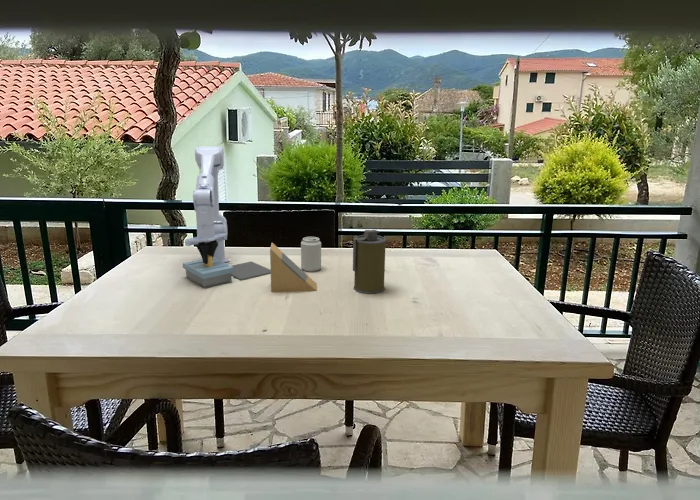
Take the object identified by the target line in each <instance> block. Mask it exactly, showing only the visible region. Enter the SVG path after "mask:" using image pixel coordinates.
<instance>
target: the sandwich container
mask: <svg viewBox="0 0 700 500" xmlns="http://www.w3.org/2000/svg"><path fill="white" fill-rule="evenodd" d="M269 255H270V256H269V257H270V258H269V259H270V261H269V262H270V270H271V274H270V292H271V293H293V292H294V293H295V292H296V293H297V292H298V293H299V292H300V293H301V292H317V291H318V284H317V282H316V281H315V280H313V278H311V277H310V276H309V275H308V274H307V273H306V271H304V270H303V269H302V268H301V267H300V266H298V265H297V264H296V263H295V262H294V261H293V260H292V259H291V258H289V257H288V256H287V255H286V254H285V253H284V252H283V251H282V250H281V249H280V248H279V247H278V246H277V245H276V244H275V243H273V242H271V245H270V249H269Z"/></svg>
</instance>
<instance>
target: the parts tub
mask: <svg viewBox="0 0 700 500" xmlns="http://www.w3.org/2000/svg"><path fill="white" fill-rule="evenodd" d="M185 273H186V274H185V276H186V279H189V280H190V281H192V282H194V283H195V284H197V285H199V286H201V287H203V288H205V289H206V288H210V287H215V286H219V285H223V284H228V283H231V282H232V281H233V280H232V276H231V273H229V274H224V275H220V276H215V277H211V278H206V279H202V278H200V277H199V276H197V275H195V274H193V273H191V272H189V271H188V270H186V269H185Z"/></svg>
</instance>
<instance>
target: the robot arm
mask: <svg viewBox="0 0 700 500" xmlns="http://www.w3.org/2000/svg"><path fill="white" fill-rule="evenodd" d="M224 153H225V152H224V147H223V146H221V145H220V146H218V145H217V146H215V145H214V146H209V145H207V146H202V145H201V146H199V145H197V146H195V149H194V158H195V162H196V166H197V167H198V169H200V173H199V174H198V175H197V178H196V184H195V185H196V186H195V190H193V193H192V200H193V201H192V202H193V206H194V207H193V208H194V212H195V220H196V221H195V222H196V235H197V236H194V237H191V238H188V239H184V246H187V247H191V246H195V247H196V248H197V250H198V252H199V255H200V256H201V258H199V260H201V259H202V260H203V263H205V264H208V256H207V254H208V255H210V256H212V258H215V259H217V260H219V261H221V262H224V263H228V262H230V260H229V259H227V258H226V256H225V255H226V254H225V252H226V251H225V241H226V240H228V224H227V222H228V221H227V219H226V217H225V216H223V215H222V214H221V213H220V205H219V203H220V202H219V173H220V171H221V170H222V169H224V166H225V162H224V161H225V156H224Z"/></svg>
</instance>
